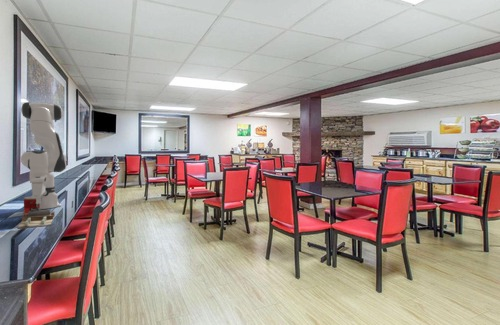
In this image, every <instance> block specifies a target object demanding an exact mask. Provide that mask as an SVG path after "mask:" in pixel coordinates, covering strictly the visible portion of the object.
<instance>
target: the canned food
mask: <svg viewBox="0 0 500 325" xmlns="http://www.w3.org/2000/svg"><path fill="white" fill-rule="evenodd" d="M33 210H41V209H40V203H39V204H37V203H36V196H32V195H30V196H24V197H23V215H24V214H25V213H28V212H29V211H33Z"/></svg>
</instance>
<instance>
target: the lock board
mask: <svg viewBox="0 0 500 325" xmlns="http://www.w3.org/2000/svg"><path fill="white" fill-rule="evenodd" d="M55 212H56V211H55V210H54V211H50V215H48V216H34V217H28V213H25V214H24V213H23V217H21V222H20V223H19V225H17V230H23V229H24V230H26V229H34V228H44V227H52V223H53V220H54V219H55V216H56V213H55Z"/></svg>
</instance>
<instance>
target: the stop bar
mask: <svg viewBox="0 0 500 325" xmlns="http://www.w3.org/2000/svg"><path fill="white" fill-rule="evenodd" d="M48 215H51V208H48V209H40V210H33V211H29V212H28V217H34V216H48Z"/></svg>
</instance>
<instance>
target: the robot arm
mask: <svg viewBox="0 0 500 325" xmlns="http://www.w3.org/2000/svg"><path fill="white" fill-rule="evenodd" d="M20 107H21V108H20V111H21V114H22V117H24V118H26V119H29V129H30V133H31V134H32V135H33V140H34V143H35V144H36V145H38V146H40V147H42V148H43V150H42V149H41V150H40V149H39V150H38V149H37V150H32V151H24V152H23V153H22V155H21V157H20V162H21V163H22V165H23V166H24V167H25V168H27V169H28V170H29V183H30V184H31V193H32V195H31V196H36V203H37V204H39V203H40V210H48V209H54V208H58V207H61V206H62V205H61V203H59V198H58V194H57V193H56V186H55V176H54V174H53V173H52V172H54V173H62V172H63V171H64V170H66V168H67V157H66V155H65V153H64V151H63V146H62V142H61V140H60V139H61V138H60V136H59V133H58V132H57V131H55V128H54V122H55V123H56V122H57V121H60V120H61V119H62V117H63V116H64V110H63V109H62V106H61V105H59V104H56V103H55V104H52V103H46V102H29V101H28V102H24V103H23V104H22V105H21V106H20Z"/></svg>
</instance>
